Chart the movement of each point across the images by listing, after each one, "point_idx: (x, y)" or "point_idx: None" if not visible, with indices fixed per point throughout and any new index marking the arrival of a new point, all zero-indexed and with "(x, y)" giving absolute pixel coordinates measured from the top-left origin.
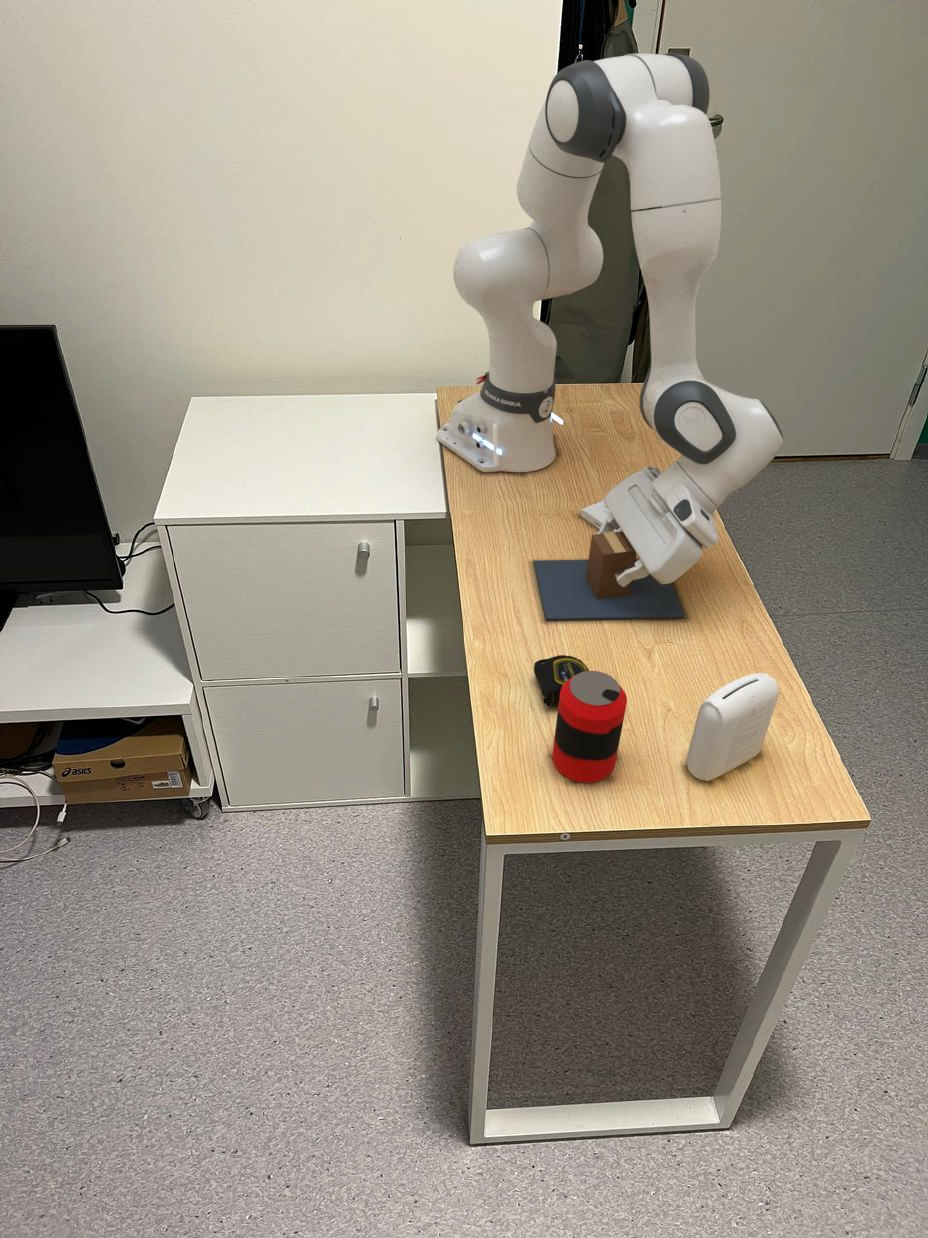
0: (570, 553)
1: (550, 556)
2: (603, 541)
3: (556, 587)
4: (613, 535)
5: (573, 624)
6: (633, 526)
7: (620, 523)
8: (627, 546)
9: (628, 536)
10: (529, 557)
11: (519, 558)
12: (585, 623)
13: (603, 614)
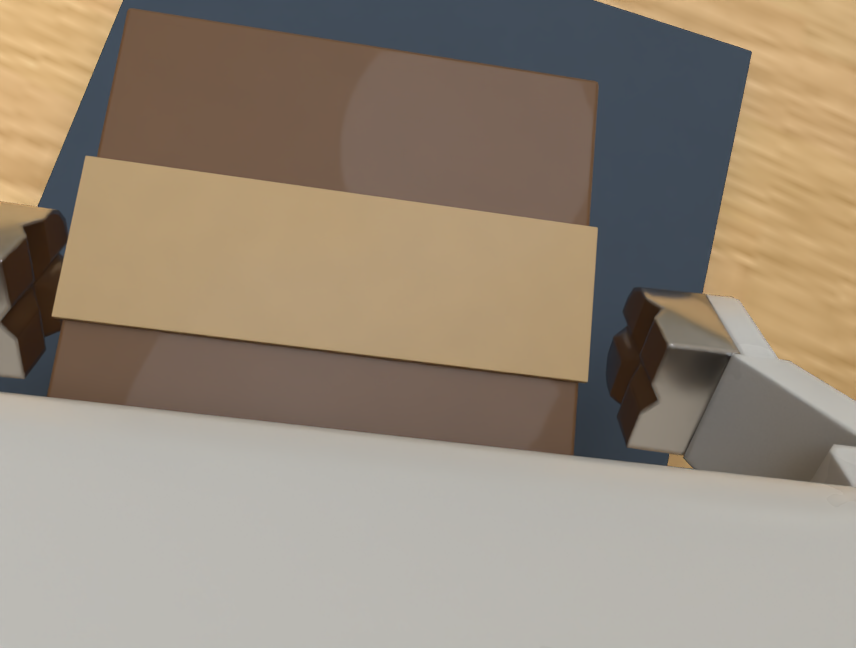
0: (793, 324)
1: (787, 187)
2: (407, 144)
3: (446, 52)
4: (492, 334)
5: (89, 12)
6: (292, 588)
7: (631, 479)
8: (176, 409)
9: (205, 426)
10: (802, 65)
11: (804, 7)
12: (68, 82)
13: (69, 204)
